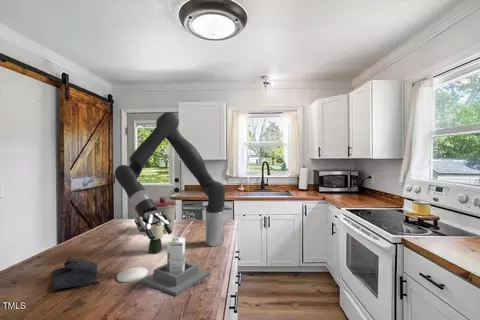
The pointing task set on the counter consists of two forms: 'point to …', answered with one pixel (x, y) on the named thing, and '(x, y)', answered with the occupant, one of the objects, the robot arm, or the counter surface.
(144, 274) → the rubber pad
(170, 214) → the canister
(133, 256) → the counter surface
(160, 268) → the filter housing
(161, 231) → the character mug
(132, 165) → the robot arm
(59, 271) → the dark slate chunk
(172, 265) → the syrup box
